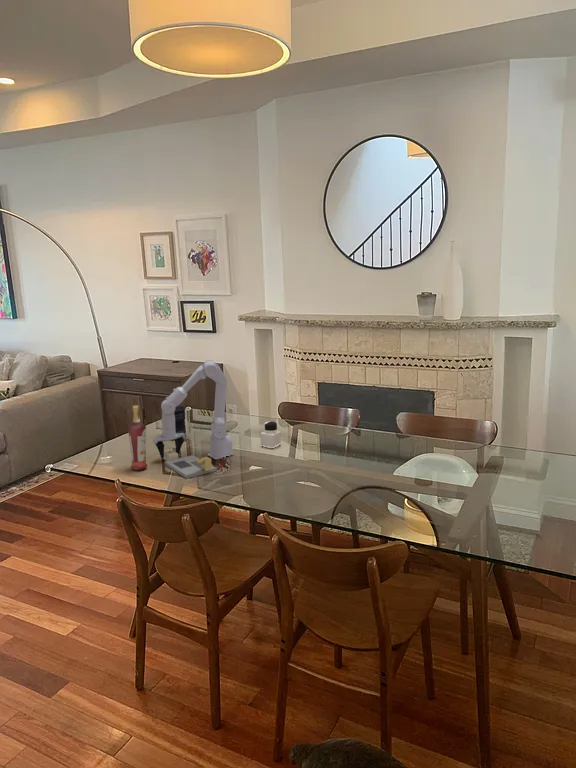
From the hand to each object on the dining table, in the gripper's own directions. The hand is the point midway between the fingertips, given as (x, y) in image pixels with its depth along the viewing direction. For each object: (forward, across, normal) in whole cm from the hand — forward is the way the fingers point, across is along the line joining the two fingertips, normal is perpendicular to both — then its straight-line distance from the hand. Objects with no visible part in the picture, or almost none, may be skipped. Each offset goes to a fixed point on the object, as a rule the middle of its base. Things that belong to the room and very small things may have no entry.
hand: (170, 455), depth 266 cm
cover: (+2, 0, 0) cm, 2 cm away
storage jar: (+2, -17, -28) cm, 33 cm away
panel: (+2, -2, +15) cm, 15 cm away
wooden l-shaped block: (0, -4, +24) cm, 25 cm away
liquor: (+2, +16, +3) cm, 16 cm away
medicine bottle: (+2, -47, +12) cm, 49 cm away
